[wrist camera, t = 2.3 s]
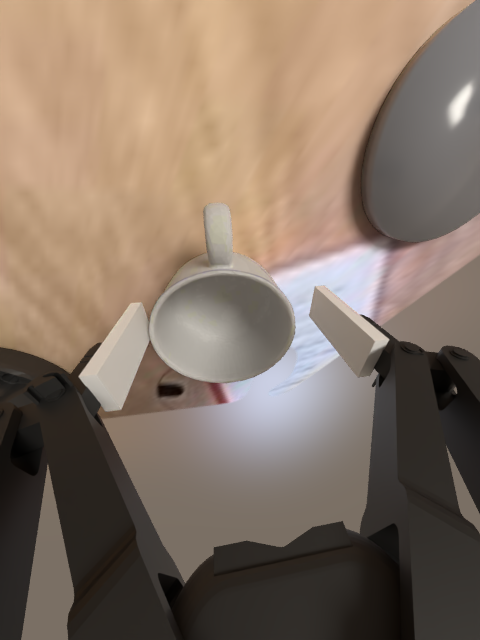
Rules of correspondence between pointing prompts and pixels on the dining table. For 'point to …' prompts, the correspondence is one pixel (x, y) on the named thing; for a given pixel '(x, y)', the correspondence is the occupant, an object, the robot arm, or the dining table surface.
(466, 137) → the charcoal plate
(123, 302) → the dining table surface
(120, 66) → the dining table surface
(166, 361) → the teacup
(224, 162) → the dining table surface
